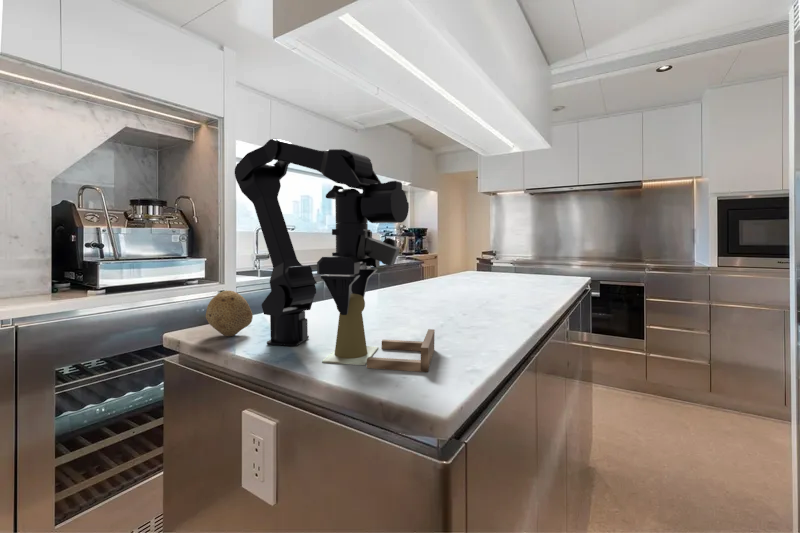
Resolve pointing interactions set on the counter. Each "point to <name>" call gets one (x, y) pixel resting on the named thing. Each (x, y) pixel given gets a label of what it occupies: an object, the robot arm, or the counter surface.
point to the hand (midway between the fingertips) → (352, 309)
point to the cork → (351, 330)
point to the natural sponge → (228, 313)
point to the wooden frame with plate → (390, 363)
